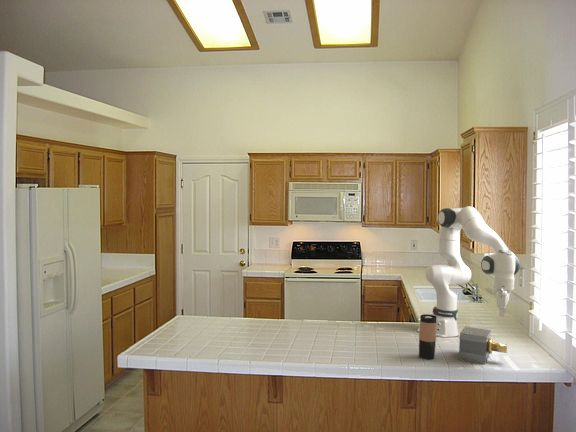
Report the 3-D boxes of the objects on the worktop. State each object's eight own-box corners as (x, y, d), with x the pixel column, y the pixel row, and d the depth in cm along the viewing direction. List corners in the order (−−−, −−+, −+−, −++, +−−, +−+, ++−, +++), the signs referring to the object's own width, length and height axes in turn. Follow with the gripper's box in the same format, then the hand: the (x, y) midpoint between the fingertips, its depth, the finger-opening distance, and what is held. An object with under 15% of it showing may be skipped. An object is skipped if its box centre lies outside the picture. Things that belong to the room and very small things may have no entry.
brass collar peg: (471, 352, 253) (471, 337, 253) (473, 348, 259) (474, 334, 259) (505, 358, 246) (506, 343, 246) (507, 354, 252) (507, 339, 252)
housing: (458, 359, 253) (460, 332, 252) (463, 352, 265) (465, 326, 264) (485, 364, 247) (486, 336, 246) (489, 356, 259) (490, 330, 259)
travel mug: (432, 354, 259) (434, 314, 258) (436, 360, 251) (439, 318, 250) (416, 354, 258) (418, 314, 257) (420, 359, 251) (422, 317, 250)
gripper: (509, 289, 238) (507, 319, 239) (512, 282, 256) (511, 310, 257) (494, 287, 241) (493, 317, 241) (498, 281, 259) (497, 309, 260)
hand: (502, 314), depth 249 cm, fingers open, 8 cm apart
